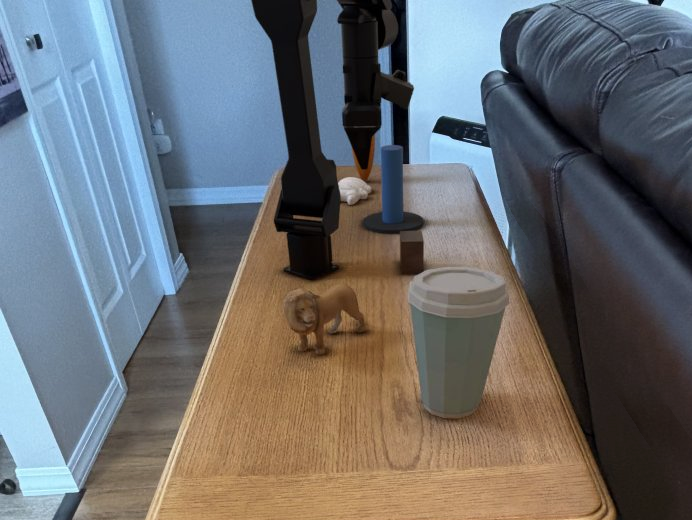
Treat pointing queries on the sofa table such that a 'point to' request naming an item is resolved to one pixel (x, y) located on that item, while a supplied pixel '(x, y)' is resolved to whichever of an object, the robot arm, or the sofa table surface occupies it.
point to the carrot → (365, 173)
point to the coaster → (408, 223)
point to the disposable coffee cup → (455, 335)
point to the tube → (392, 183)
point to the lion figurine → (320, 313)
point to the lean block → (411, 252)
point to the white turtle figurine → (353, 190)
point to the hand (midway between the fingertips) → (364, 162)
